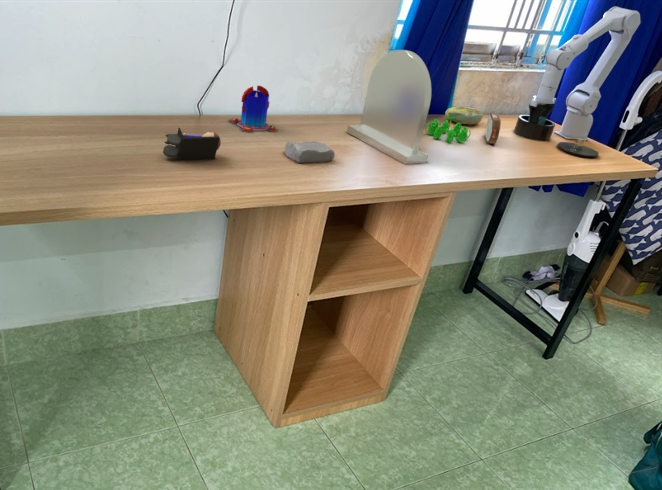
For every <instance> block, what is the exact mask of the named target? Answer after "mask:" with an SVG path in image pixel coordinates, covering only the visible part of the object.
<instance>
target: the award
mask: <svg viewBox="0 0 662 490" xmlns="http://www.w3.org/2000/svg"><path fill="white" fill-rule="evenodd" d="M364 99H365V100H364V104H363V109H362V114H361V119H360V124H349V125H347V129H346V133H348V134H349V135H351V136H352V137H355V138H357V139H359V140H360V141H363V143H366V144H368V145H369V146H371V147H373V148H374V149H376V150H378V151H380V152H382V153H384V154H386V155H388V156H389V157H391V158H392V159H395V160H396V161H398V162H400V163H402V164H404V165H413V164H423V163H427V162H428V158H429V154H428V153H425V152H423V151H421V150H419V148H420V145H421V141H422V137H423V133H424V131H425V130H424V129H425V127H426V121H427V117H428V114H429V110H430V106H431V100H432V80H431V76H430V72H429V70H428V67H427V65H426V64H425V62H424V61H423V59H422V58H421V57H420V55H418V54H417V53H415V52H414V51H411V50H407V49H395V50H390V51H389V52H387V53H385V54H384V55H382V57H381V58H380V59H379V60H378V61H377V62H376V64H375V65H374V67H373V70H372V72H371V73H370V77H369V80H368V85H367V90H366V94H365V98H364Z"/></svg>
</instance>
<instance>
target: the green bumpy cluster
mask: <svg viewBox="0 0 662 490" xmlns="http://www.w3.org/2000/svg"><path fill="white" fill-rule="evenodd" d="M448 118H450V120H449V119H448ZM448 118H447V119H445V120H444V121H443V122H442V124H441V122H440V120H439V119H431V120H430V122H428V123H427V124H425V127H424V129H425V130H424V131H425V133H426V134H427V135H429V136H433V139H435V140H439V139H441V137H442V136H443V134H445V133H447V135H446V141H447V143H449V144H450V143H452V142H453V141H454V138H455V141H456V142H457V143H459V144H462V143H463V144H464V143H466V141H467V140H468V139H469V138H470V136H471V133H469V134H468V132H471V130H470V128H469V127H468V126H462V124H461V123H457V122H456V123H455V125H454V126H453V128H450V127H451V124H452V119H455V117H454V116H448ZM427 127H428V129H427Z"/></svg>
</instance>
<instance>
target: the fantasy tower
mask: <svg viewBox="0 0 662 490" xmlns="http://www.w3.org/2000/svg"><path fill="white" fill-rule="evenodd" d="M269 98H270V93H269V91H268V89H267V88H265V87H264V86H262V85H258V84H257V85H256V89H255V90H254V86H253V85H252V86H250V87H248V88H247V89H246V90H245V91H243V94H242V96H241V101H240V102H241V103H242V106H241V115H240V120H239V118H237V117H235V118H232V119H231V120H230V121H229V123H231V124H235V125H236V126H238V127H240V128H241V131H242V132H245V133H253V132H262V131H263V132H264V131H268V132H276V131H277V130H278V129H277V127H276V126H273V125H268V123H267V118H268V116H267V115H268V109H269V107H270V101H269V100H270V99H269Z"/></svg>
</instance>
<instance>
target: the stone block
mask: <svg viewBox="0 0 662 490" xmlns="http://www.w3.org/2000/svg"><path fill="white" fill-rule="evenodd" d="M284 148H285V149H284V154H285V155H286V157H287V158H289V159H291V160H293V161H294V162H296V163H298V164H308V163H328V162H331V161H333V160H334V159H335V151H334V149H333V148H332V147H330V146H329V145H328V144H327V143H325V142H321V141H303V142H296V141H287V142H286V145H285V147H284Z"/></svg>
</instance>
